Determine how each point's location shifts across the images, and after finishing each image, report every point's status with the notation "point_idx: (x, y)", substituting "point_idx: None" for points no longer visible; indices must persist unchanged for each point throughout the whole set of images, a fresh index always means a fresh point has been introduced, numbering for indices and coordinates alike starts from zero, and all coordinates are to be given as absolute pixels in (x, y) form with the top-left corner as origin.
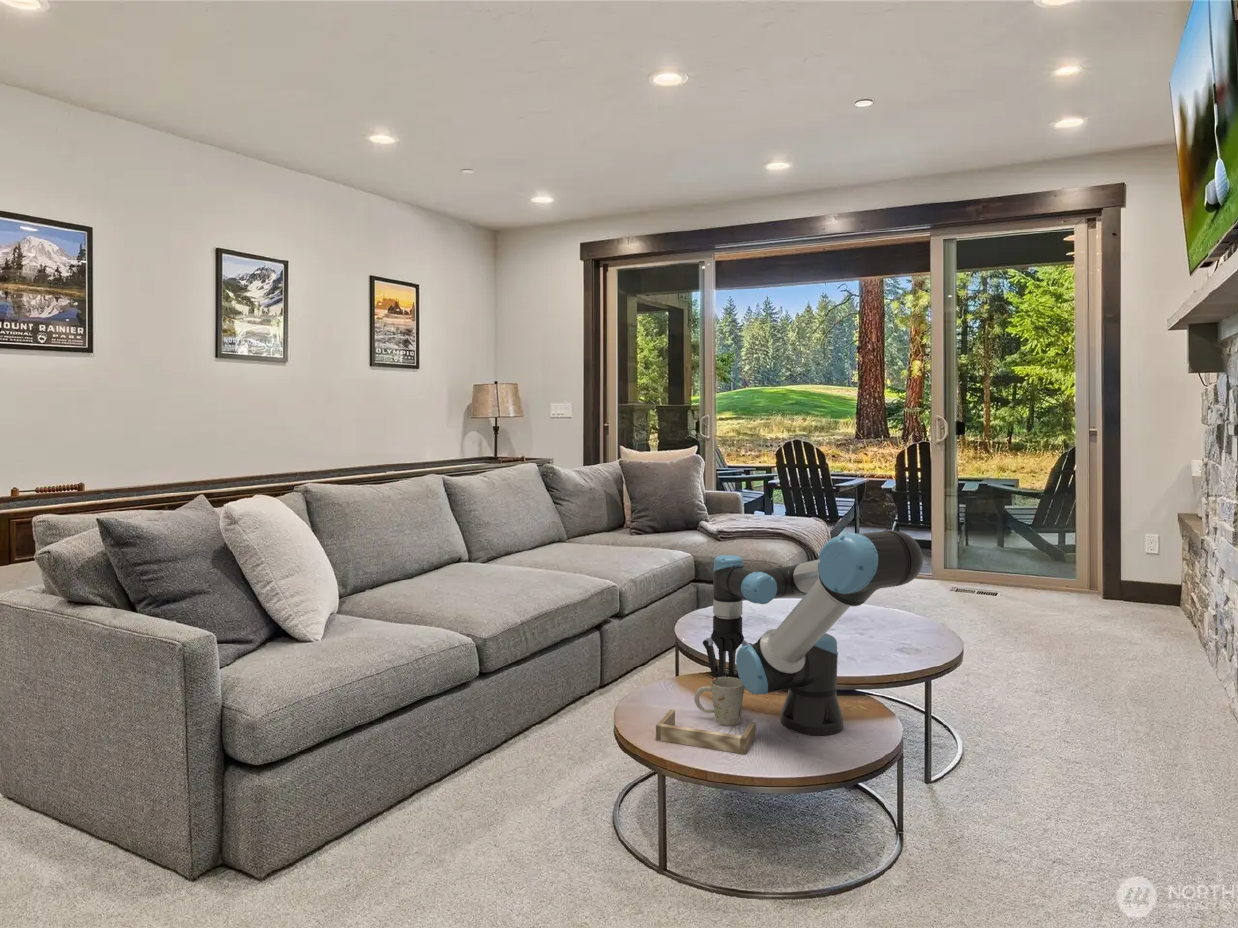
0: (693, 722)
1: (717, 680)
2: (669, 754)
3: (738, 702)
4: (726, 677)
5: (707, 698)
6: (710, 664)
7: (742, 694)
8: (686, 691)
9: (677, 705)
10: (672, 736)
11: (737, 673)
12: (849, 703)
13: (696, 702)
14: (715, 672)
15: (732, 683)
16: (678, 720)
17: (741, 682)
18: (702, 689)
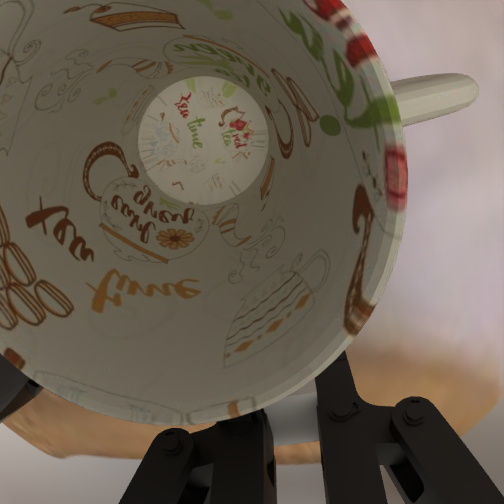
0: (362, 24)
1: (335, 298)
2: None
3: (44, 134)
4: (234, 406)
5: (404, 350)
6: (483, 486)
7: (2, 200)
8: (479, 356)
9: (499, 214)
10: None
11: (165, 482)
12: (45, 439)
13: (421, 76)
14: (409, 441)
15: (168, 361)
16: (436, 25)
17: (38, 353)
18: (441, 78)
